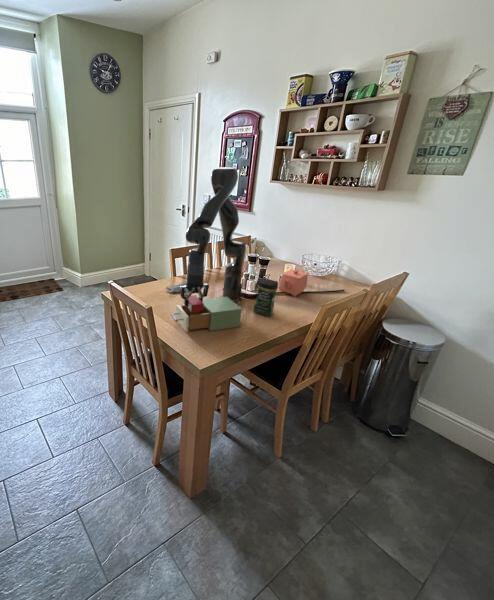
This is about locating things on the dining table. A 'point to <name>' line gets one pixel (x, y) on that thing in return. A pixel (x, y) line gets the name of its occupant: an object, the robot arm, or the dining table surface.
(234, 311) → the cabinet
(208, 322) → the drawer
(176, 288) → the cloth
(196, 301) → the red rectangular block
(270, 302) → the coffee jar
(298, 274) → the pink knobbed cube
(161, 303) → the dining table surface
